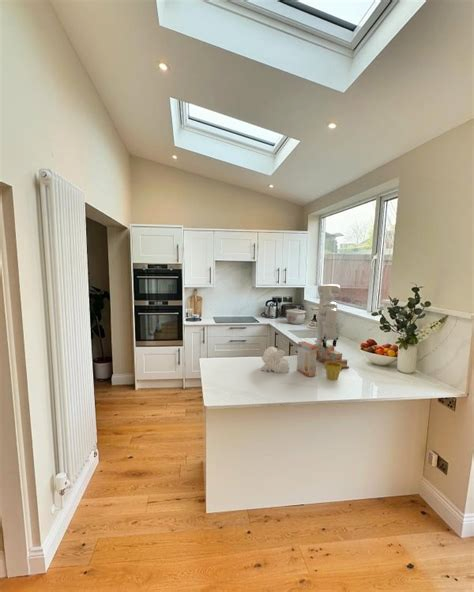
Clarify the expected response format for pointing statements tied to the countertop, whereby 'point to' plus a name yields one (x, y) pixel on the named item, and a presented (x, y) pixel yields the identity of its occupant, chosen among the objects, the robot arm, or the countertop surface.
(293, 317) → the chamber pot
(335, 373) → the plant pot
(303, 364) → the cracker box
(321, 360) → the cradle
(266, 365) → the cauliflower
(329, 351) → the stack of blocks
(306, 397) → the countertop surface
